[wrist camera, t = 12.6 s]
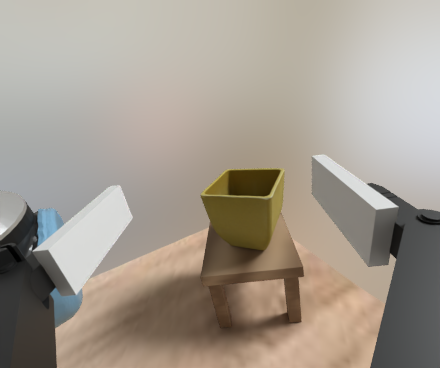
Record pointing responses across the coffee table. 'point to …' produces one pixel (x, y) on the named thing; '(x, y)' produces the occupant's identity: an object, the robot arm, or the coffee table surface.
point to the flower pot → (245, 205)
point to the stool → (252, 269)
